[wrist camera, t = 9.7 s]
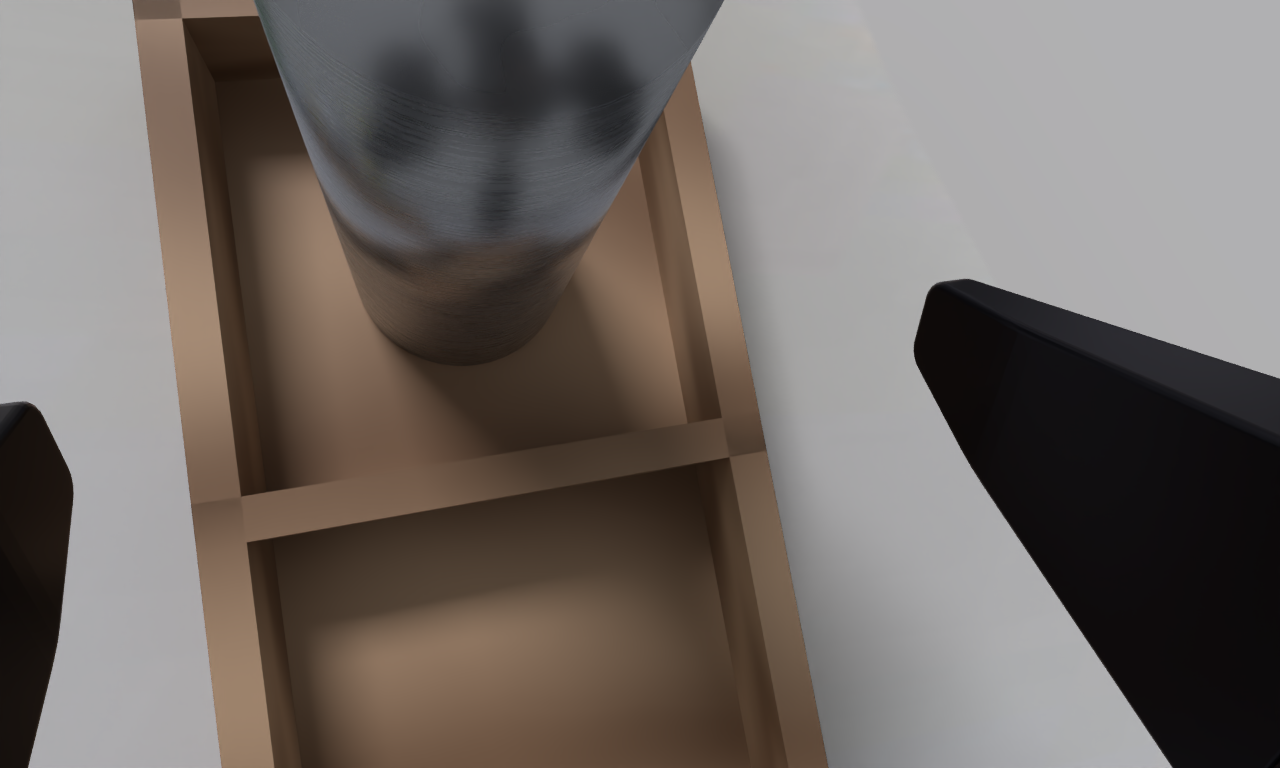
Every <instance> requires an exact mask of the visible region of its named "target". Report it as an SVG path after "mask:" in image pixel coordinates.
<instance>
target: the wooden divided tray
mask: <svg viewBox="0 0 1280 768" xmlns="http://www.w3.org/2000/svg"><path fill="white" fill-rule="evenodd" d="M132 1H133V10H134V18H135V27H136V35H137V44H138V53H139V61H140V70H141V78H142V87H143V96H144V104H145V113H146V121H147V130H148V139H149V147H150V156H151V164H152V173H153V181H154V190H155V199H156V207H157V216H158V224H159V233H160V242H161V250H162V259H163V267H164V276H165V285H166V293H167V302H168V310H169V319H170V327H171V336H172V345H173V353H174V362H175V370H176V379H177V388H178V396H179V405H180V413H181V422H182V431H183V439H184V448H185V456H186V465H187V474H188V482H189V491H190V499H191V508H192V516H193V525H194V534H195V542H196V551H197V559H198V568H199V577H200V585H201V594H202V602H203V611H204V620H205V628H206V637H207V645H208V654H209V662H210V671H211V680H212V688H213V697H214V705H215V714H216V723H217V731H218V740H219V748H220V757H221V766H222V768H828V763H827V758H826V753H825V748H824V743H823V738H822V733H821V727H820V722H819V717H818V712H817V707H816V702H815V697H814V692H813V686H812V681H811V676H810V671H809V666H808V661H807V656H806V651H805V645H804V640H803V635H802V630H801V625H800V620H799V615H798V609H797V604H796V599H795V594H794V589H793V584H792V579H791V574H790V568H789V563H788V558H787V553H786V548H785V543H784V538H783V533H782V527H781V522H780V517H779V512H778V507H777V502H776V497H775V491H774V486H773V481H772V476H771V471H770V466H769V461H768V456H767V450H766V445H765V440H764V435H763V430H762V425H761V420H760V415H759V409H758V404H757V399H756V394H755V389H754V384H753V379H752V373H751V368H750V363H749V358H748V353H747V348H746V343H745V338H744V332H743V327H742V322H741V317H740V312H739V307H738V302H737V297H736V291H735V286H734V281H733V276H732V271H731V266H730V261H729V255H728V250H727V245H726V240H725V235H724V230H723V225H722V220H721V214H720V209H719V204H718V199H717V194H716V189H715V184H714V179H713V173H712V168H711V163H710V158H709V153H708V148H707V143H706V137H705V132H704V127H703V122H702V117H701V112H700V107H699V102H698V96H697V91H696V86H695V81H694V76H693V71H692V66H691V61H690V63H689V65H688V67H687V69H686V70H685V72H684V74H683V76H682V78H681V79H680V81H679V83H678V85H677V87H676V89H675V90H674V92H673V94H672V96H671V98H670V99H669V101H668V103H667V105H666V107H665V109H664V110H663V112H662V114H661V116H660V118H659V119H658V121H657V123H656V125H655V127H654V128H653V130H652V132H651V134H650V136H649V138H648V139H647V141H646V143H645V145H644V147H643V148H642V150H641V152H640V154H639V156H638V157H637V159H636V161H635V163H634V165H633V167H632V168H631V170H630V172H629V174H628V176H627V177H626V179H625V181H624V183H623V185H622V187H621V188H620V190H619V192H618V194H617V196H616V197H615V199H614V201H613V203H612V205H611V206H610V208H609V210H608V212H607V214H606V216H605V217H604V219H603V221H602V223H601V225H600V226H599V228H598V230H597V232H596V234H595V236H594V237H593V239H592V241H591V243H590V245H589V246H588V248H587V250H586V252H585V254H584V255H583V257H582V259H581V261H580V263H579V265H578V266H577V268H576V270H575V272H574V274H573V275H572V277H571V279H570V281H569V283H568V285H567V286H566V288H565V290H564V292H563V294H562V295H561V297H560V299H559V301H558V303H557V304H556V306H555V308H554V310H553V312H552V314H551V315H550V317H549V318H548V320H547V322H546V323H545V325H544V326H543V327H542V328H541V330H540V331H539V332H538V333H537V335H535V336H534V337H533V338H532V339H531V340H530V341H529V342H528V343H527V344H525V345H524V346H523V347H521V348H520V349H518V350H517V351H515V352H513V353H511V354H509V355H507V356H506V357H503V358H500V359H498V360H495V361H492V362H488V363H484V364H479V365H470V366H451V365H445V364H439V363H435V362H431V361H428V360H424V359H422V358H420V357H417V356H415V355H413V354H410V353H409V352H407V351H405V350H404V349H402V348H400V347H399V346H397V345H396V344H395V343H394V342H392V341H391V340H390V339H388V338H387V337H386V336H385V335H384V334H383V333H382V332H381V331H380V330H379V329H378V327H377V326H376V325H375V323H374V322H373V321H372V319H371V318H370V317H369V315H368V313H367V311H366V309H365V308H364V306H363V304H362V301H361V299H360V296H359V294H358V291H357V288H356V285H355V283H354V280H353V277H352V274H351V271H350V269H349V266H348V263H347V260H346V257H345V255H344V252H343V249H342V246H341V243H340V241H339V238H338V235H337V232H336V230H335V227H334V224H333V221H332V218H331V216H330V213H329V210H328V207H327V204H326V202H325V199H324V196H323V193H322V190H321V188H320V185H319V182H318V179H317V176H316V174H315V171H314V168H313V165H312V163H311V160H310V157H309V154H308V151H307V149H306V146H305V143H304V140H303V137H302V135H301V132H300V129H299V126H298V123H297V121H296V118H295V115H294V112H293V109H292V107H291V104H290V101H289V98H288V96H287V93H286V90H285V87H284V84H283V82H282V79H281V76H280V73H279V70H278V68H277V65H276V62H275V59H274V56H273V54H272V51H271V48H270V45H269V42H268V40H267V37H266V34H265V31H264V29H263V26H262V23H261V20H260V17H259V15H258V12H257V9H256V6H255V3H254V1H253V0H132Z"/></svg>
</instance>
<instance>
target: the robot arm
mask: <svg viewBox="0 0 1280 768" xmlns="http://www.w3.org/2000/svg"><path fill="white" fill-rule="evenodd" d="M914 357H915V361H916V364H917V366H918V368H919V370H920V372H921V374H922V376H923V378H924V380H925V382H926V383H927V385H928V387H929V389H930V391H931V393H932V395H933V397H934V399H935V401H936V402H937V404H938V406H939V408H940V410H941V412H942V414H943V416H944V418H945V420H946V421H947V423H948V425H949V427H950V429H951V431H952V433H953V435H954V437H955V439H956V440H957V442H958V444H959V446H960V448H961V450H962V452H963V453H964V455H965V457H966V459H967V461H968V462H969V464H970V466H971V468H972V469H973V471H974V472H975V474H976V475H977V477H978V479H979V480H980V482H981V483H982V485H983V486H984V488H985V489H986V491H987V492H988V494H989V495H990V497H991V498H992V500H993V501H994V503H995V504H996V506H997V507H998V509H999V510H1000V512H1001V513H1002V515H1003V516H1004V518H1005V519H1006V521H1007V522H1008V524H1009V525H1010V527H1011V528H1012V530H1013V531H1014V533H1015V534H1016V536H1017V537H1018V538H1019V540H1020V541H1021V543H1022V544H1023V546H1024V547H1025V549H1026V550H1027V552H1028V553H1029V555H1030V556H1031V558H1032V559H1033V561H1034V562H1035V564H1036V565H1037V567H1038V568H1039V570H1040V571H1041V573H1042V574H1043V576H1044V577H1045V579H1046V580H1047V582H1048V583H1049V585H1050V586H1051V588H1052V589H1053V591H1054V592H1055V594H1056V595H1057V597H1058V598H1059V600H1060V601H1061V603H1062V604H1063V605H1064V607H1065V608H1066V610H1067V611H1068V613H1069V614H1070V616H1071V617H1072V619H1073V620H1074V622H1075V623H1076V625H1077V626H1078V628H1079V629H1080V631H1081V632H1082V634H1083V635H1084V637H1085V638H1086V640H1087V641H1088V643H1089V644H1090V646H1091V647H1092V649H1093V650H1094V652H1095V653H1096V655H1097V656H1098V658H1099V659H1100V661H1101V662H1102V664H1103V665H1104V667H1105V668H1106V670H1107V671H1108V672H1109V674H1110V675H1111V677H1112V678H1113V680H1114V681H1115V683H1116V684H1117V686H1118V687H1119V689H1120V690H1121V692H1122V693H1123V695H1124V696H1125V698H1126V699H1127V701H1128V702H1129V704H1130V705H1131V707H1132V708H1133V710H1134V711H1135V713H1136V714H1137V716H1138V717H1139V719H1140V720H1141V722H1142V723H1143V725H1144V726H1145V728H1146V729H1147V731H1148V732H1149V734H1150V735H1151V736H1152V738H1153V739H1154V741H1155V742H1156V744H1157V745H1158V747H1159V748H1160V750H1161V751H1162V753H1163V754H1164V756H1165V757H1166V759H1167V760H1168V762H1169V763H1170V765H1171V766H1172V768H1280V379H1279V378H1276V377H1273V376H1270V375H1267V374H1263V373H1260V372H1257V371H1254V370H1251V369H1248V368H1245V367H1241V366H1239V365H1236V364H1232V363H1229V362H1226V361H1223V360H1220V359H1217V358H1214V357H1211V356H1208V355H1204V354H1201V353H1198V352H1195V351H1192V350H1189V349H1186V348H1183V347H1180V346H1177V345H1173V344H1170V343H1167V342H1164V341H1161V340H1158V339H1155V338H1152V337H1149V336H1145V335H1142V334H1139V333H1136V332H1133V331H1130V330H1127V329H1123V328H1121V327H1117V326H1114V325H1111V324H1108V323H1105V322H1102V321H1099V320H1096V319H1093V318H1089V317H1086V316H1083V315H1080V314H1077V313H1074V312H1071V311H1068V310H1065V309H1062V308H1059V307H1055V306H1052V305H1049V304H1046V303H1043V302H1040V301H1037V300H1034V299H1031V298H1027V297H1024V296H1021V295H1018V294H1015V293H1012V292H1009V291H1006V290H1003V289H1000V288H996V287H993V286H990V285H987V284H984V283H981V282H978V281H975V280H971V279H959V280H951V281H944V282H939V283H936V284H935V285H933V286H932V287H931V289H930V290H929V292H928V294H927V296H926V300H925V304H924V308H923V311H922V315H921V319H920V323H919V326H918V330H917V334H916V338H915V342H914ZM73 494H74V493H73V482H72V477H71V474H70V471H69V469H68V466H67V464H66V462H65V460H64V458H63V456H62V454H61V452H60V450H59V448H58V446H57V444H56V442H55V440H54V438H53V436H52V434H51V432H50V429H49V427H48V425H47V423H46V421H45V419H44V417H43V415H42V414H41V412H40V411H39V410H38V409H37V408H36V406H35V405H33V404H31V403H28V402H24V401H22V402H13V403H5V404H0V768H28V765H29V761H30V757H31V753H32V749H33V745H34V741H35V737H36V733H37V729H38V724H39V720H40V716H41V712H42V708H43V704H44V700H45V696H46V692H47V688H48V683H49V679H50V675H51V671H52V667H53V662H54V657H55V653H56V648H57V643H58V636H59V629H60V622H61V613H62V603H63V593H64V584H65V574H66V564H67V555H68V545H69V535H70V525H71V516H72V506H73Z"/></svg>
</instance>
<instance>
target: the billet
mask: <svg viewBox="0 0 1280 768" xmlns="http://www.w3.org/2000/svg"><path fill="white" fill-rule="evenodd" d="M253 1H254V3H255V6H256V9H257V12H258V15H259V17H260V20H261V23H262V26H263V29H264V31H265V34H266V37H267V40H268V42H269V45H270V48H271V51H272V54H273V56H274V59H275V62H276V65H277V68H278V70H279V73H280V76H281V79H282V82H283V84H284V87H285V90H286V93H287V96H288V98H289V101H290V104H291V107H292V109H293V112H294V115H295V118H296V121H297V123H298V126H299V129H300V132H301V135H302V137H303V140H304V143H305V146H306V149H307V151H308V154H309V157H310V160H311V163H312V165H313V168H314V171H315V174H316V176H317V179H318V182H319V185H320V188H321V190H322V193H323V196H324V199H325V202H326V204H327V207H328V210H329V213H330V216H331V218H332V221H333V224H334V227H335V230H336V232H337V235H338V238H339V241H340V243H341V246H342V249H343V252H344V255H345V257H346V260H347V263H348V266H349V269H350V271H351V274H352V277H353V280H354V283H355V285H356V288H357V291H358V294H359V296H360V299H361V301H362V304H363V306H364V308H365V309H366V311H367V313H368V315H369V317H370V318H371V319H372V321H373V322H374V323H375V325H376V326H377V327H378V329H379V330H380V331H381V332H382V333H383V334H384V335H385V336H386V337H387V338H388V339H390V340H391V341H392V342H394V343H395V344H396V345H397V346H399V347H400V348H402V349H404V350H405V351H407V352H409V353H410V354H413V355H415V356H417V357H420V358H422V359H424V360H428V361H431V362H435V363H439V364H445V365H451V366H470V365H479V364H484V363H488V362H492V361H495V360H498V359H500V358H503V357H506V356H507V355H509V354H511V353H513V352H515V351H517V350H518V349H520V348H521V347H523V346H524V345H525V344H527V343H528V342H529V341H530V340H531V339H532V338H533V337H534V336H535V335H537V333H538V332H539V331H540V330H541V328H542V327H543V326H544V325H545V323H546V322H547V320H548V318H549V317H550V315H551V314H552V312H553V310H554V308H555V306H556V304H557V303H558V301H559V299H560V297H561V295H562V294H563V292H564V290H565V288H566V286H567V285H568V283H569V281H570V279H571V277H572V275H573V274H574V272H575V270H576V268H577V266H578V265H579V263H580V261H581V259H582V257H583V255H584V254H585V252H586V250H587V248H588V246H589V245H590V243H591V241H592V239H593V237H594V236H595V234H596V232H597V230H598V228H599V226H600V225H601V223H602V221H603V219H604V217H605V216H606V214H607V212H608V210H609V208H610V206H611V205H612V203H613V201H614V199H615V197H616V196H617V194H618V192H619V190H620V188H621V187H622V185H623V183H624V181H625V179H626V177H627V176H628V174H629V172H630V170H631V168H632V167H633V165H634V163H635V161H636V159H637V157H638V156H639V154H640V152H641V150H642V148H643V147H644V145H645V143H646V141H647V139H648V138H649V136H650V134H651V132H652V130H653V128H654V127H655V125H656V123H657V121H658V119H659V118H660V116H661V114H662V112H663V110H664V109H665V107H666V105H667V103H668V101H669V99H670V98H671V96H672V94H673V92H674V90H675V89H676V87H677V85H678V83H679V81H680V79H681V78H682V76H683V74H684V72H685V70H686V69H687V67H688V65H689V63H690V61H691V60H692V58H693V56H694V54H695V52H696V50H697V49H698V47H699V45H700V43H701V41H702V40H703V38H704V36H705V34H706V32H707V30H708V29H709V27H710V25H711V23H712V21H713V20H714V18H715V16H716V14H717V12H718V11H719V9H720V7H721V5H722V3H723V1H724V0H253Z"/></svg>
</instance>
